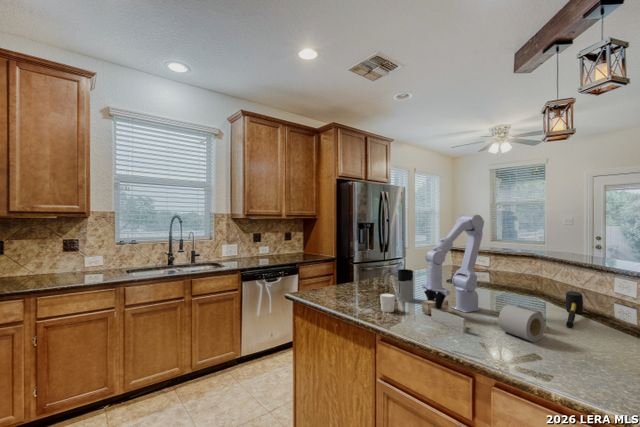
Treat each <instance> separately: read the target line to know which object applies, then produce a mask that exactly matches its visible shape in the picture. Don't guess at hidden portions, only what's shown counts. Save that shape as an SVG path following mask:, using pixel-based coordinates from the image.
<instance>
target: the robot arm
mask: <svg viewBox="0 0 640 427" xmlns="http://www.w3.org/2000/svg"><path fill="white" fill-rule="evenodd" d="M455 222H456V223H455V224H454V226H453V227H452V229H451V230H450V231H449V233H448V234H447V236H446V237H442V238H440V239H439V240H438V243H436V245H435V246H434V247H432V249H431V250H429V251H428V252H427V253H426V255H425V257H424V258H425V261H426V262H427V267H428V273H427V274H428V275H427V276H428V279H427V280H428V284H427V283H422V284H421V289H425V290H424V292H423V293H424V294H425V296H426V298H427V301H429V300H436V308H437V309H441V307H442V303H443V301H444V299H445V298H446V297H447V296H450V295H451V294H450V293H451V290H449V289H446V288H444V287H443V263H444V262H445V260H446V257H447V254H448V253H449V251H451V249H452V248H453V246H454V241H455V240H456V239H457V238H458V237H459V236H460V235H461V234H462V233H463V232H465V233H466V234H467V235H468V238H467V241H466V246H465V250H464V253H463V258H462V262H461V266H460V268H458V269H457V270H456V271H455V273H454V275H453V277H452V279H451V280H452V281H451V283H452V285H453V286H454V289H455V306H451V309H455V310H457V311H459V312H463V313H470V312H471V313H472V312H476V311H480V310H481V309H480V308H479V295H478V292H477V291H476V289H477V287H478V275H477V274H476V273H475V266H476V263H477V258H478V254H479V251H480V248H481V247H480V246H481V244H482V243H481V242H482V240H483V229H484V225H485V220H484V218H483V217H482V216H481V215H480V214H461V215H459V217H458V218H457V219H456V220H455Z"/></svg>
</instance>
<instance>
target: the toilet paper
mask: <svg viewBox="0 0 640 427" xmlns="http://www.w3.org/2000/svg"><path fill="white" fill-rule="evenodd" d="M498 314H499V315H498V325H499V327H500V329H501V331H502V332H505V333H507V334H510V335H513V336H517V337H519V338H521V339H524V340H526V341H528V342H532V343H536V342H538V341H540V340H541V338H542V336H543V335H544V332H545V326H546V324H545V319H544V316H542V315H543V314H542V315H541V314H540V313H537V312H533V311H529V310H526V309H522V308H519V307H517V306H515V305H511V304H506V305H504V306H503V307H502V308H501V310H500V312H499V313H498Z"/></svg>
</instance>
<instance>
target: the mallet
mask: <svg viewBox="0 0 640 427" xmlns="http://www.w3.org/2000/svg"><path fill="white" fill-rule="evenodd" d="M565 309H566V313H568V315H567V320H566V323H565V326H566V327H567V328H568V329H573V328H574V322H575V319H576V315H582V314H583V310H584V297H583V294H582V293H581V292H579V291H575V290H574V291H573V290H568V291H566V293H565Z"/></svg>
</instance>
